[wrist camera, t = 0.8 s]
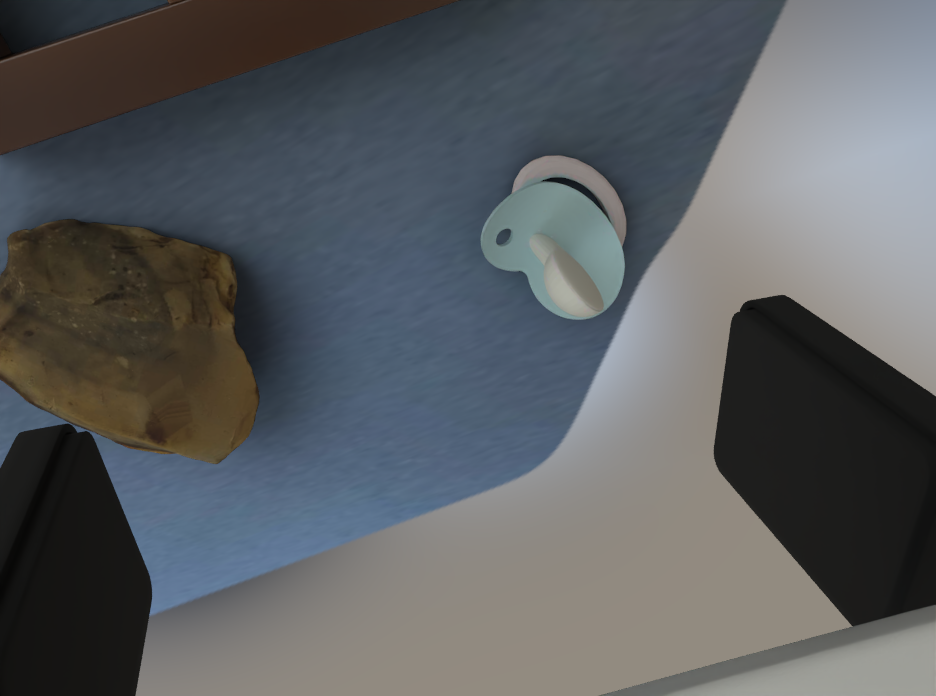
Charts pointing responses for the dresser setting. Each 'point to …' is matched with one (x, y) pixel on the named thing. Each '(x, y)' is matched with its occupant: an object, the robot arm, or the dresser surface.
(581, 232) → the pacifier
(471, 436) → the dresser surface
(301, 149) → the dresser surface
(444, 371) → the dresser surface
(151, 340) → the decorative stone
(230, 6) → the stand
